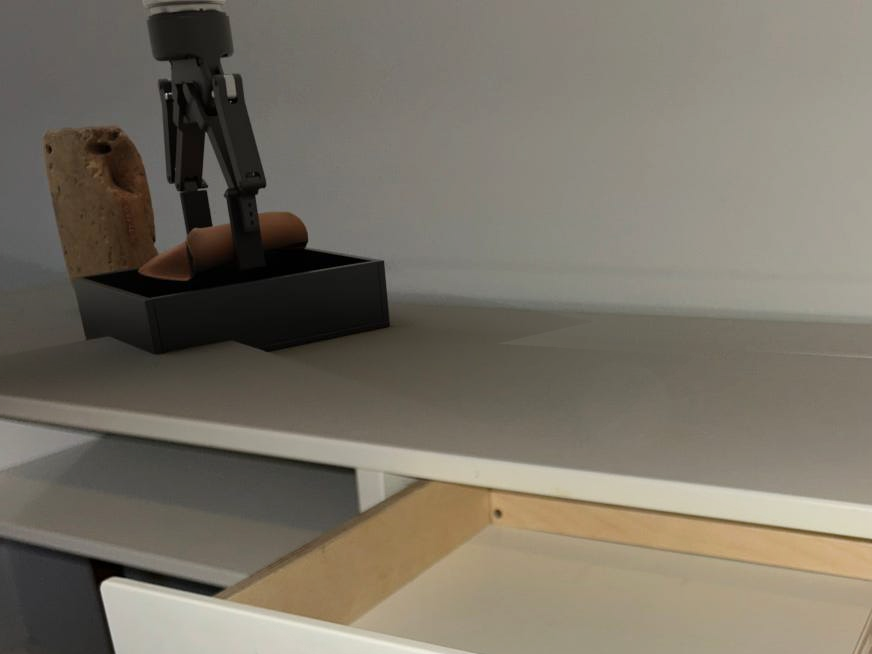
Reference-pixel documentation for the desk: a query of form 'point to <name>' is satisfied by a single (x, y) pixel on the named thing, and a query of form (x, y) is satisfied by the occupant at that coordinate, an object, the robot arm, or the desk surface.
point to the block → (99, 199)
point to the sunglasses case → (223, 246)
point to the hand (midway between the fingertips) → (227, 262)
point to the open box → (239, 303)
